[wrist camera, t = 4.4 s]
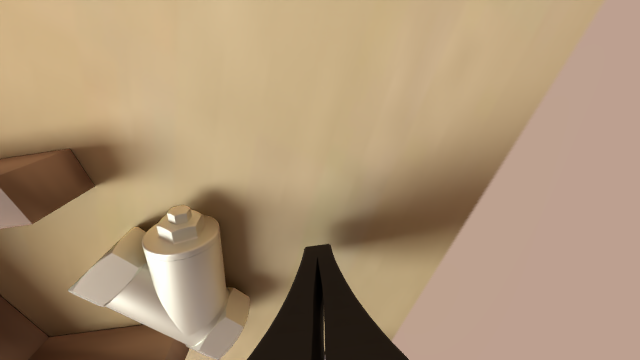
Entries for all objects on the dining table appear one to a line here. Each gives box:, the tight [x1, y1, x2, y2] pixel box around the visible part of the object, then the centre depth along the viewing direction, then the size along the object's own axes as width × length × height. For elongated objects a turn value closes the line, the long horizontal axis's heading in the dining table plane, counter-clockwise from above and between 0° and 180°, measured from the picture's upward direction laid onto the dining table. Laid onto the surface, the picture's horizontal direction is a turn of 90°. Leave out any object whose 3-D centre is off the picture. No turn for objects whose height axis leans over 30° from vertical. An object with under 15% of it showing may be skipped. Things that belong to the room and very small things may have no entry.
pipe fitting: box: [68, 205, 250, 360], centre depth 13 cm, size 8×4×7 cm
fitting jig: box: [0, 149, 189, 360], centre depth 12 cm, size 18×12×5 cm, turn 8°
